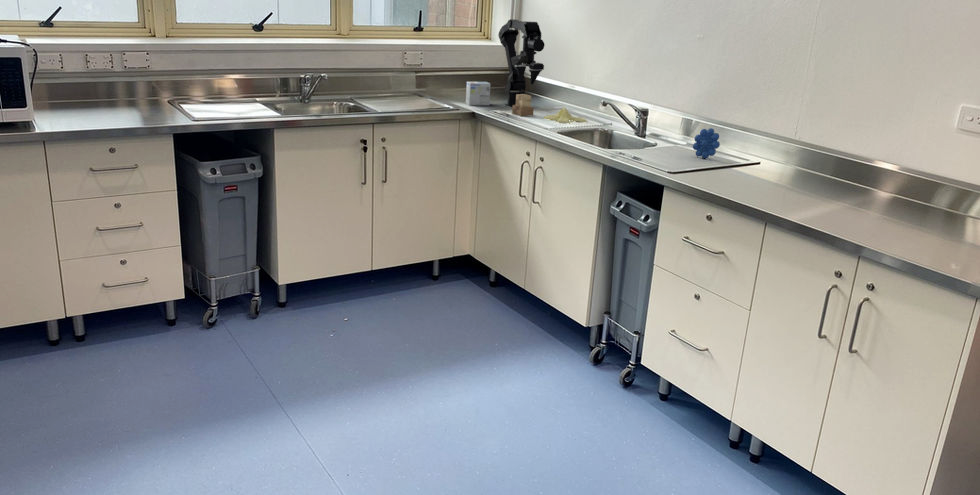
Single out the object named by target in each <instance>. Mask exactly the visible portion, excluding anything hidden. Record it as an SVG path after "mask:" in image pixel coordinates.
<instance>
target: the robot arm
mask: <svg viewBox="0 0 980 495" xmlns="http://www.w3.org/2000/svg"><path fill="white" fill-rule="evenodd" d="M519 31H520V32H521V33H522V34H523V35H522V36H521V38H522V39H523V41H522V50H520V52H519V54H517V52H516V46H515V44H516V42H517V40H518V36H519ZM497 36H498V39H499V42H500V44H501V45H502V46H503V47H504V50H505V55H506V56H505V57H506V60H507V67H508V72H509V76H508V78H507V83H506V84H505V86H504V93H506V94H507V102H506V103H504V105H505V106H508V107H512V108H513V105H516V95H517V94H525V91H526V88H527V83H526V79H525V73H526V68H527V67H528V72H529V73H530V85H534V83H535V82H536V79H537V78H538V76H539V75H540V73H541V72H543V70H544V69H545V65H544V63H542V62H537V61H536V60H535V55H537V53H539V52H542V51H543V50H544V48H545V45H546V44H545V42H544V40H543V39H542V31H541V29H540V25H539V23H538V22H537V21H523V20H519V19H514V18H513V19H508V21H507V22H506V23H505V24H504V25H502V26H501V28H500V30H499V32H498V35H497Z"/></svg>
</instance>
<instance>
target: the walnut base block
mask: <svg viewBox="0 0 980 495" xmlns="http://www.w3.org/2000/svg"><path fill="white" fill-rule="evenodd" d="M511 114H512V115H515V116H518V115H519V116H518V117H526V116H525V115H533V116H534V106H531V107H519V106H516V105H513V107H512V110H511Z"/></svg>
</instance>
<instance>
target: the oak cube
mask: <svg viewBox="0 0 980 495" xmlns="http://www.w3.org/2000/svg"><path fill="white" fill-rule="evenodd" d="M531 105H532V95H530V94H527V93H526V94H525V93H524V94H517V95H516V106H519V107H531Z"/></svg>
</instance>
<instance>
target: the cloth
mask: <svg viewBox="0 0 980 495" xmlns="http://www.w3.org/2000/svg"><path fill="white" fill-rule="evenodd" d="M571 114H572V113H570V112H569V109H567V108H566V107H562V108H561V109H560V110H559V111H558V112H557V113H555V114H550V115H548V114H547V115H545V116H544V117H543V118H544V119H550V120H549V121H554V123H556V122H559V123H558V124H566V123H569V125H571V124H570V123H571V121H569V120H573V121H572V122H574V121H578V122H577V123H583V122H588V120H587V119H585V118H583V117H580V116H579V117H577V116H572V115H571Z"/></svg>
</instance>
